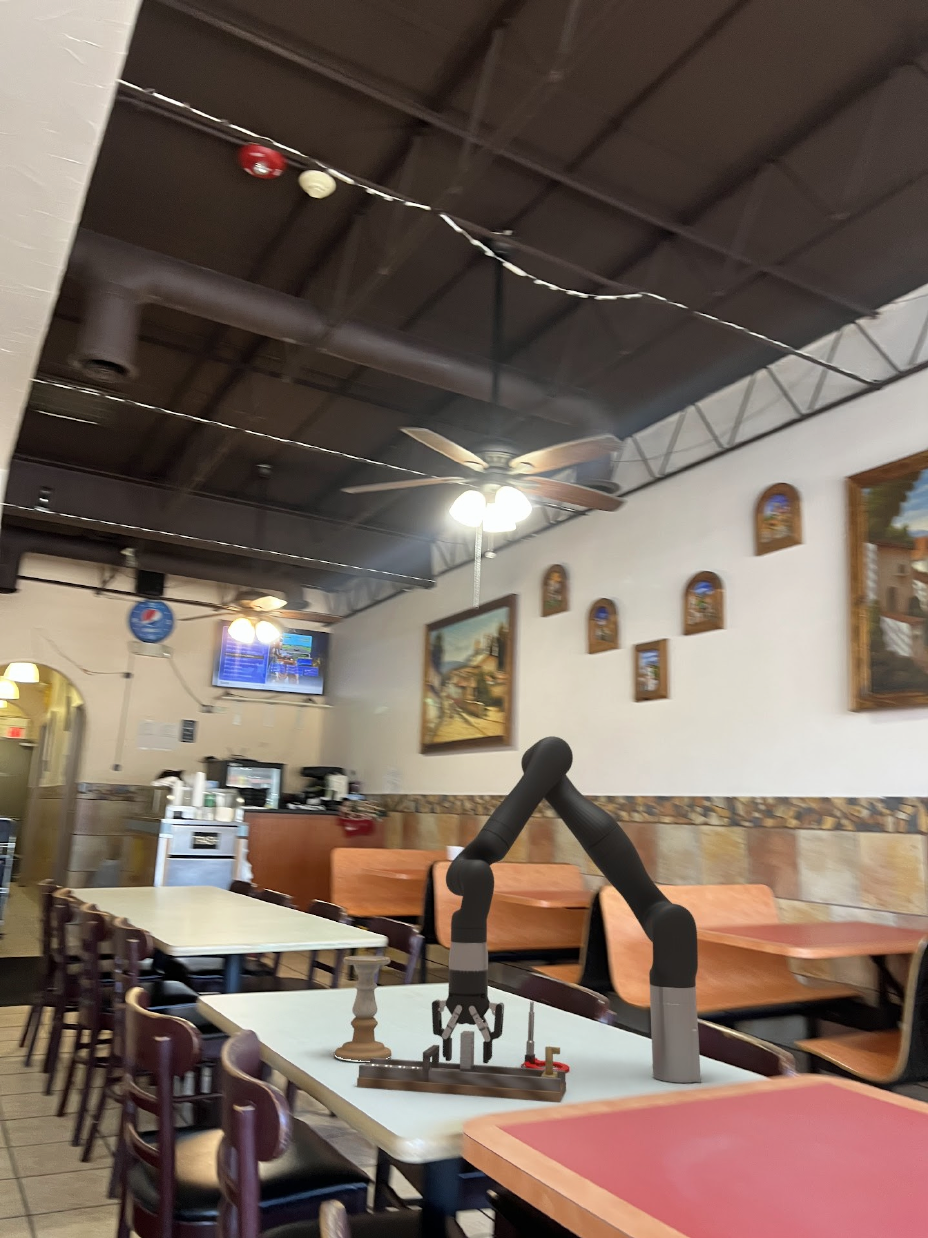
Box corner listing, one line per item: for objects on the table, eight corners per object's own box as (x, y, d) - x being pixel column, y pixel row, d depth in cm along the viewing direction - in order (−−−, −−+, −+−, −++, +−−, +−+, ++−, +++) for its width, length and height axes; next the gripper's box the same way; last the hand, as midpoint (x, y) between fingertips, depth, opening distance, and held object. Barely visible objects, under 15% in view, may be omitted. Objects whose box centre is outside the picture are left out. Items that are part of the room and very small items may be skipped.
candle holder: (402, 1056, 194) (406, 957, 199) (366, 1066, 184) (370, 962, 189) (359, 1049, 200) (363, 954, 206) (322, 1058, 191) (327, 958, 196)
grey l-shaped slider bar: (473, 1077, 167) (474, 1031, 169) (470, 1081, 164) (470, 1034, 167) (365, 1070, 172) (367, 1025, 174) (360, 1073, 169) (362, 1027, 171)
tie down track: (566, 1090, 166) (565, 1043, 168) (560, 1102, 157) (559, 1053, 160) (372, 1076, 174) (374, 1032, 176) (356, 1087, 166) (358, 1040, 168)
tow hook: (574, 1071, 185) (533, 1064, 189) (576, 1004, 188) (535, 998, 192) (561, 1079, 177) (518, 1071, 181) (563, 1009, 181) (521, 1003, 184)
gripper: (508, 966, 173) (508, 1060, 169) (437, 963, 177) (435, 1055, 172) (501, 970, 166) (500, 1068, 162) (427, 967, 170) (424, 1063, 165)
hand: (467, 1061), depth 167 cm, fingers open, 6 cm apart
